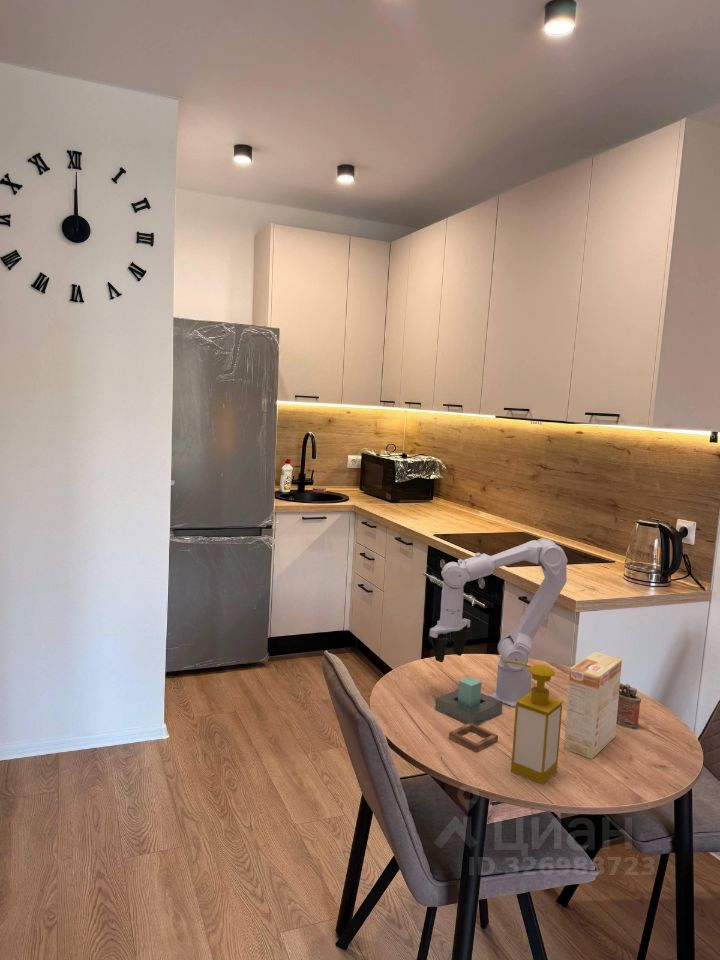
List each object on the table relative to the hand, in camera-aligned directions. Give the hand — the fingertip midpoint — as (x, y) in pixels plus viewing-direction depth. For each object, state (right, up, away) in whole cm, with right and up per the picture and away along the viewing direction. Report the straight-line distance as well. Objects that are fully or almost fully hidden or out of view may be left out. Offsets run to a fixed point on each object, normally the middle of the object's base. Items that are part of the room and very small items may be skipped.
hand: (448, 657), depth 181 cm
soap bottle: (+12, -15, -33) cm, 38 cm away
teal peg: (+4, -12, -8) cm, 15 cm away
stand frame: (+3, -13, -22) cm, 26 cm away
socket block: (+4, -12, -8) cm, 15 cm away
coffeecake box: (+30, -15, -21) cm, 40 cm away
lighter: (+42, -14, -10) cm, 46 cm away
